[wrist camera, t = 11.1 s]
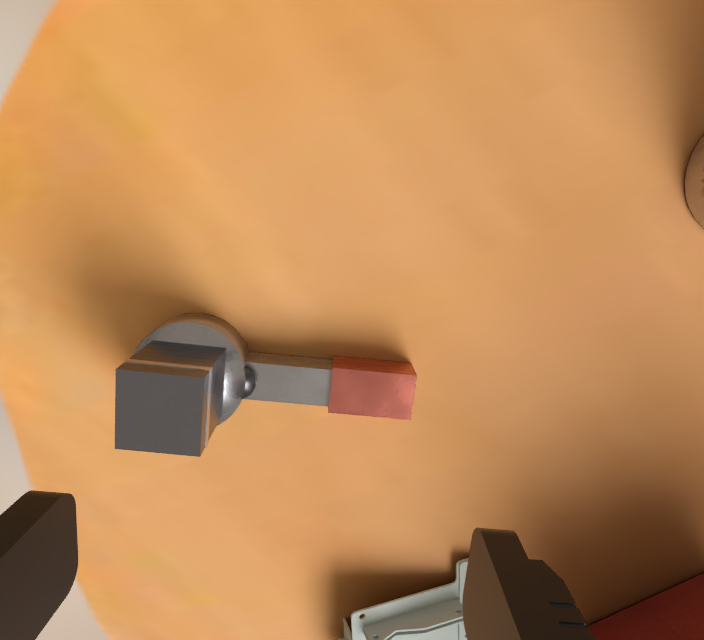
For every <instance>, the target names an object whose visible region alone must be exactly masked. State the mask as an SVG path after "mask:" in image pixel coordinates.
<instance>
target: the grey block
mask: <svg viewBox="0 0 704 640" xmlns="http://www.w3.org/2000/svg"><path fill="white" fill-rule="evenodd" d="M225 362H226V348H223V347H213V346H204V345H194V344H185V343H175V342H166V341H156V340H152V341H151V342H150V343H149V344H147V345H146V346H145V347H143V348H142V349H141V350H140V351H138V352H137V353H136V354H134V355H133V356H132V357H131V358H129V359H126V360H125V361H124V363H123V364H122V365H120V366H119V367H118V368H117V369H116V399H115V449H123V450H134V451H145V452H155V453H166V454H177V455H187V456H198V457H200V456H201V454H202V452H203V450H204V448H205V447H207V445H208V441H209V439H210V437H211V435H212V433H213V431H214V429H215V427H216V425H217V423H218V422H219V420H220V418H221V416H222V408H223V392H224V377H225Z"/></svg>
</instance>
